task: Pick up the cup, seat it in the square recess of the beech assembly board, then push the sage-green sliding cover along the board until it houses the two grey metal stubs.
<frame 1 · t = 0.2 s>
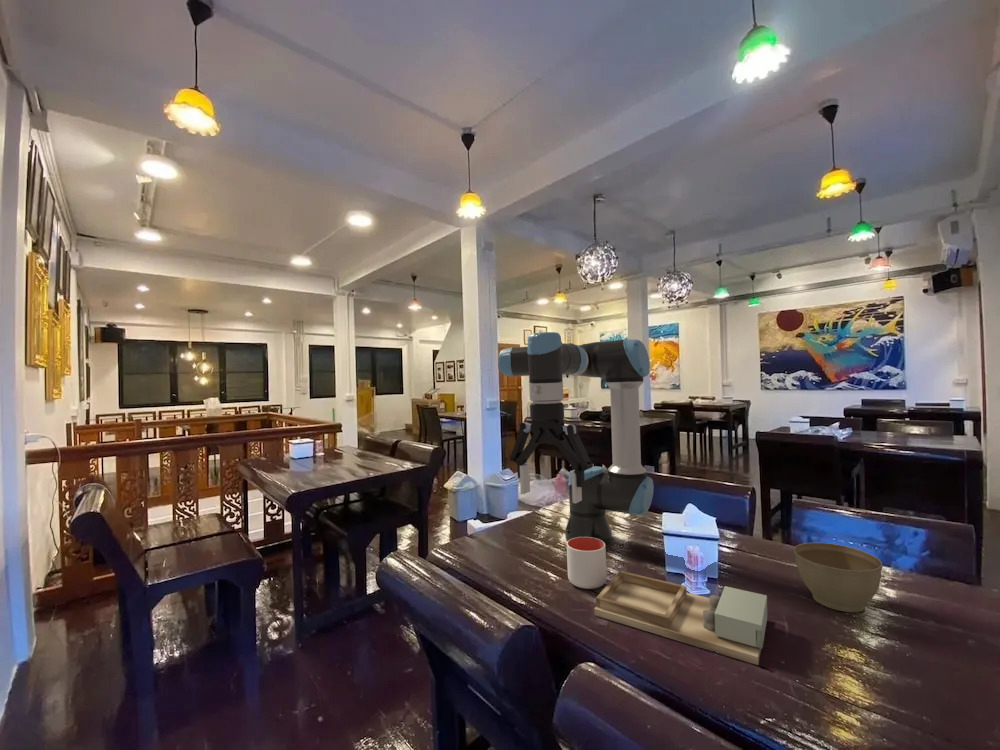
hand: (550, 497, 97), 27 cm above the table, fingers open, 13 cm apart
board: (678, 616, 97), on the table
cover: (741, 614, 90), point 4 cm above the table, slide at 0.0 cm
cup: (587, 582, 115), on the table
planter bowl: (837, 603, 100), on the table
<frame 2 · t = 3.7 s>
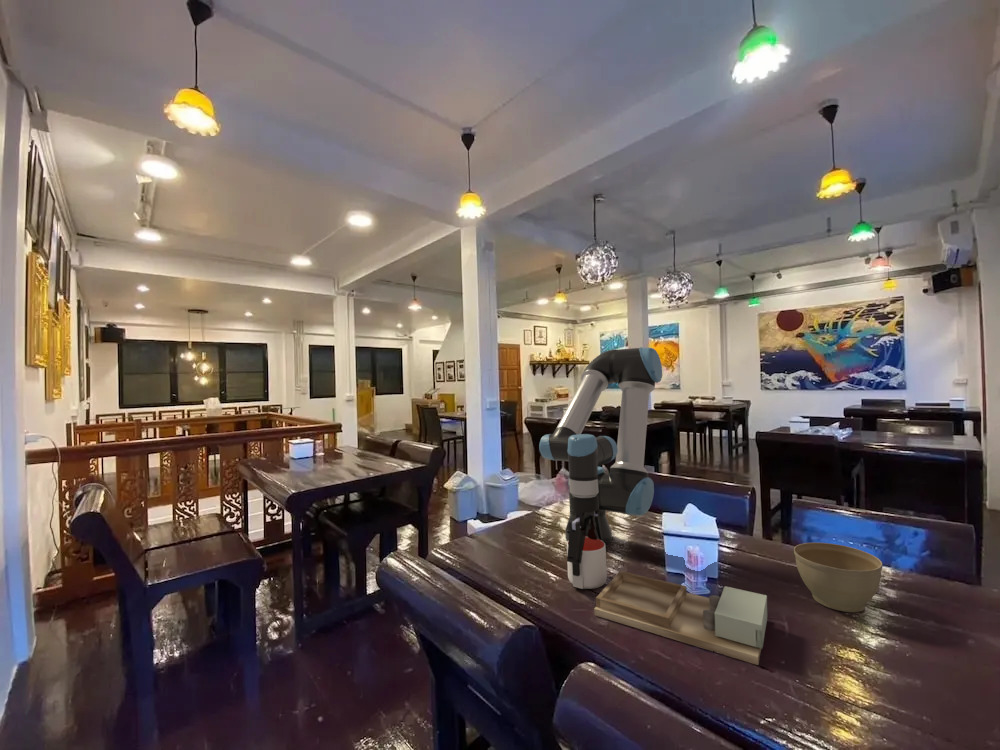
hand: (587, 578, 115), 1 cm above the table, fingers closed on cup, 10 cm apart
cup: (587, 582, 115), on the table, touching gripper
everything else where it was.
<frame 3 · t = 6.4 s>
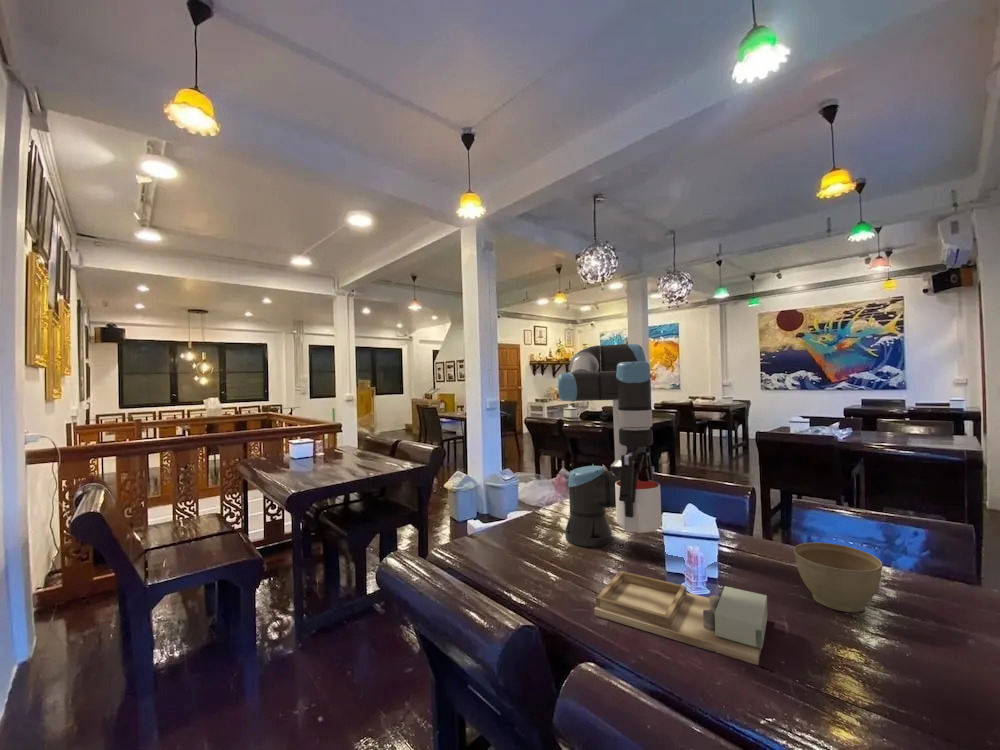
hand: (638, 523, 101), 19 cm above the table, fingers closed on cup, 10 cm apart
cup: (638, 527, 101), point 18 cm above the table, touching gripper
everything else where it was.
when the fingers open (5 cm above the table, at t = 9.1 s): cup drops 2 cm, resting on board.
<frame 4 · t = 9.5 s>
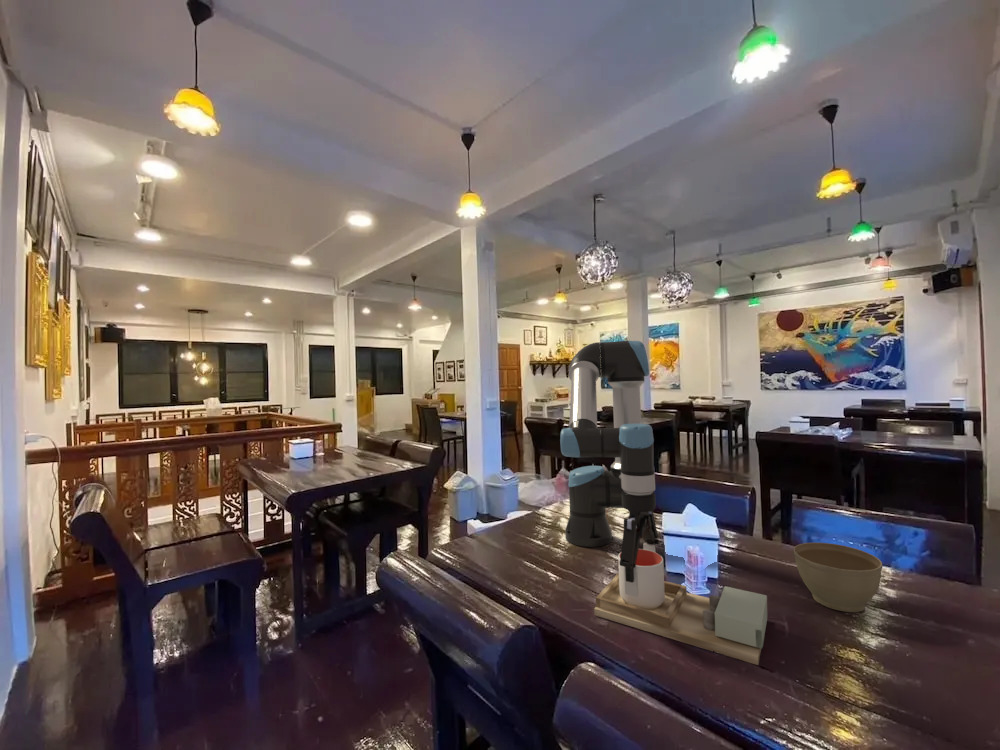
hand: (641, 582, 101), 6 cm above the table, fingers open, 13 cm apart
cup: (642, 600, 102), point 1 cm above the table, touching board
everything else where it was.
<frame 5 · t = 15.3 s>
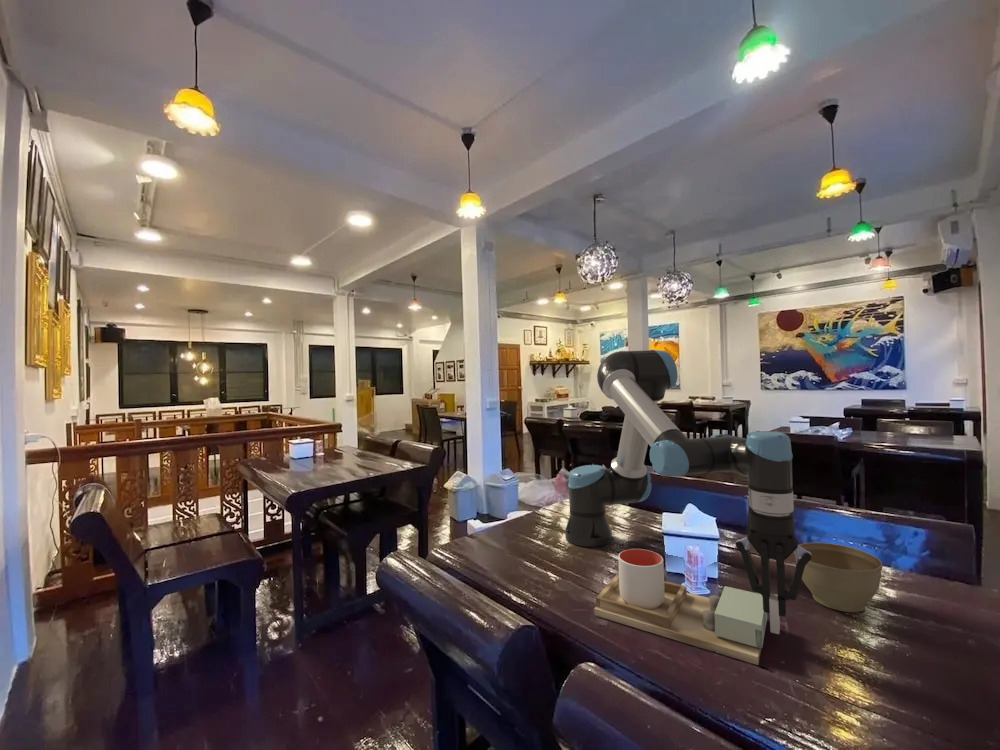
hand: (775, 629, 86), 3 cm above the table, fingers closed
cover: (741, 614, 90), point 4 cm above the table, slide at 0.0 cm, touching gripper
everything else where it was.
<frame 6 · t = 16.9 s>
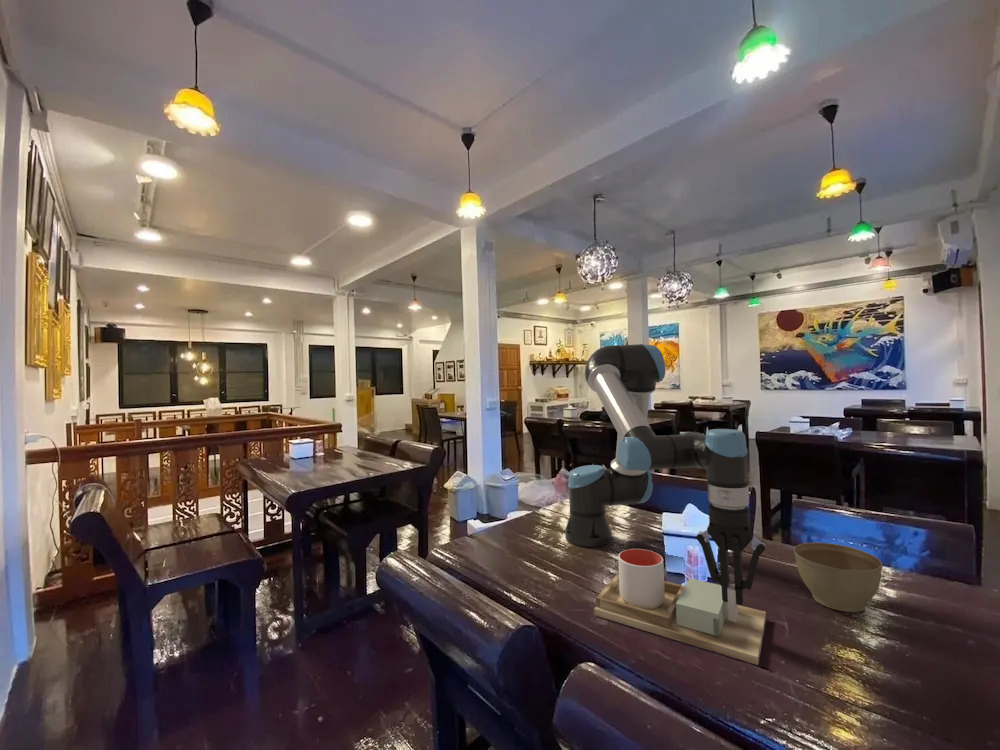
hand: (733, 618, 91), 3 cm above the table, fingers closed
cover: (703, 605, 94), point 4 cm above the table, slide at 7.3 cm, touching board, gripper
everything else where it was.
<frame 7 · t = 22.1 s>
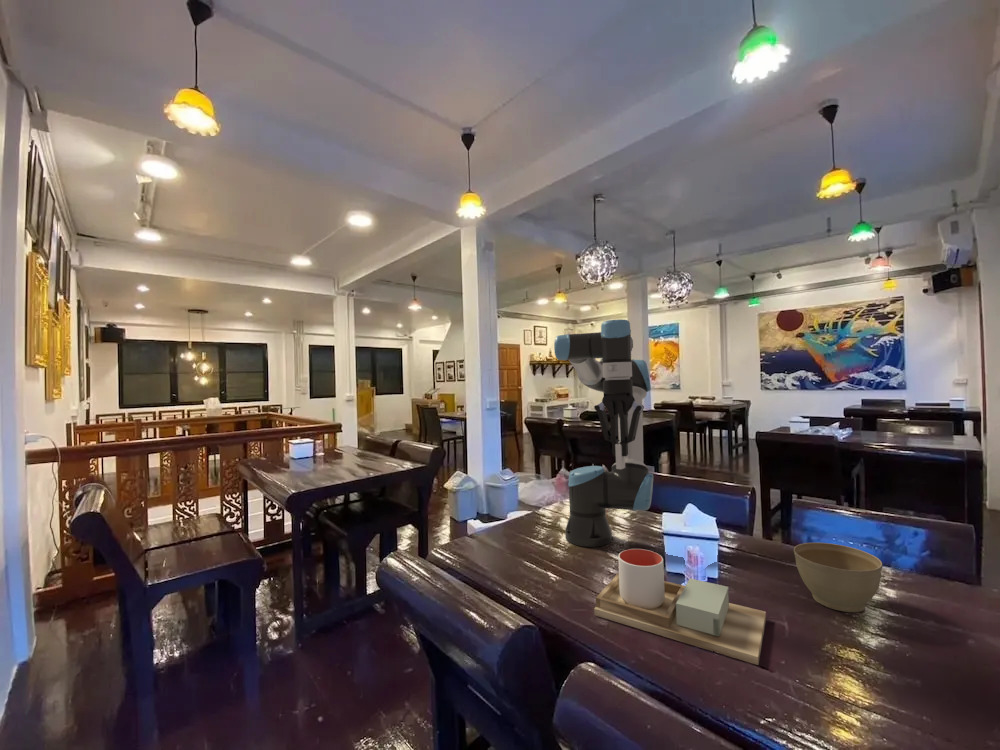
hand: (620, 468, 115), 29 cm above the table, fingers closed
cover: (703, 605, 94), point 4 cm above the table, slide at 7.3 cm, touching board
everything else where it was.
at the end: cup inside the target area on the board (0.1 cm from its centre), point 1.3 cm above the board's base; cup tilted 0°; cover slide at 7.3 cm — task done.
